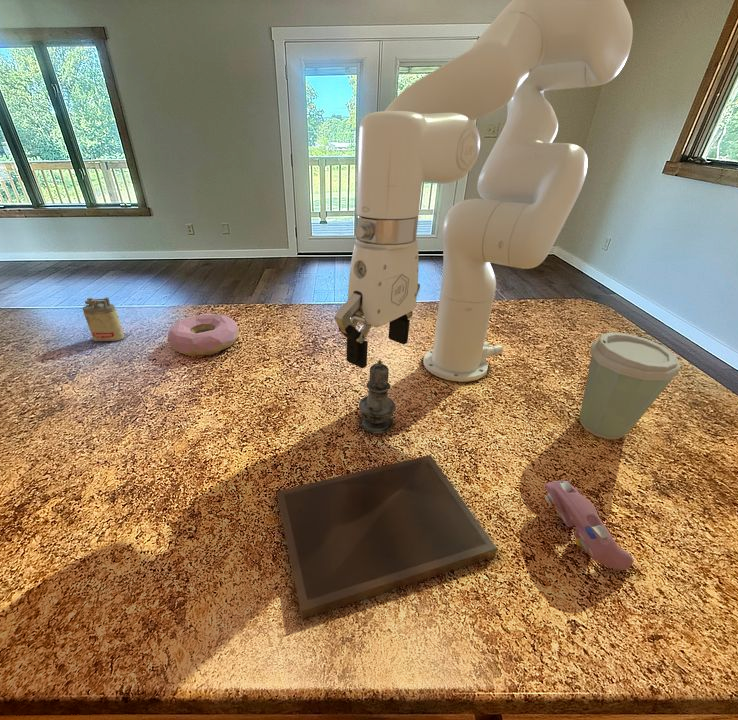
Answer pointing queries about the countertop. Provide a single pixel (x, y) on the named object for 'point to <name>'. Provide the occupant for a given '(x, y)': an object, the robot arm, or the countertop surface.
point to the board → (376, 533)
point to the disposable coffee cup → (623, 382)
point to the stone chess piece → (377, 401)
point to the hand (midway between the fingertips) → (378, 352)
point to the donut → (203, 334)
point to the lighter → (103, 320)
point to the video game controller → (587, 525)
